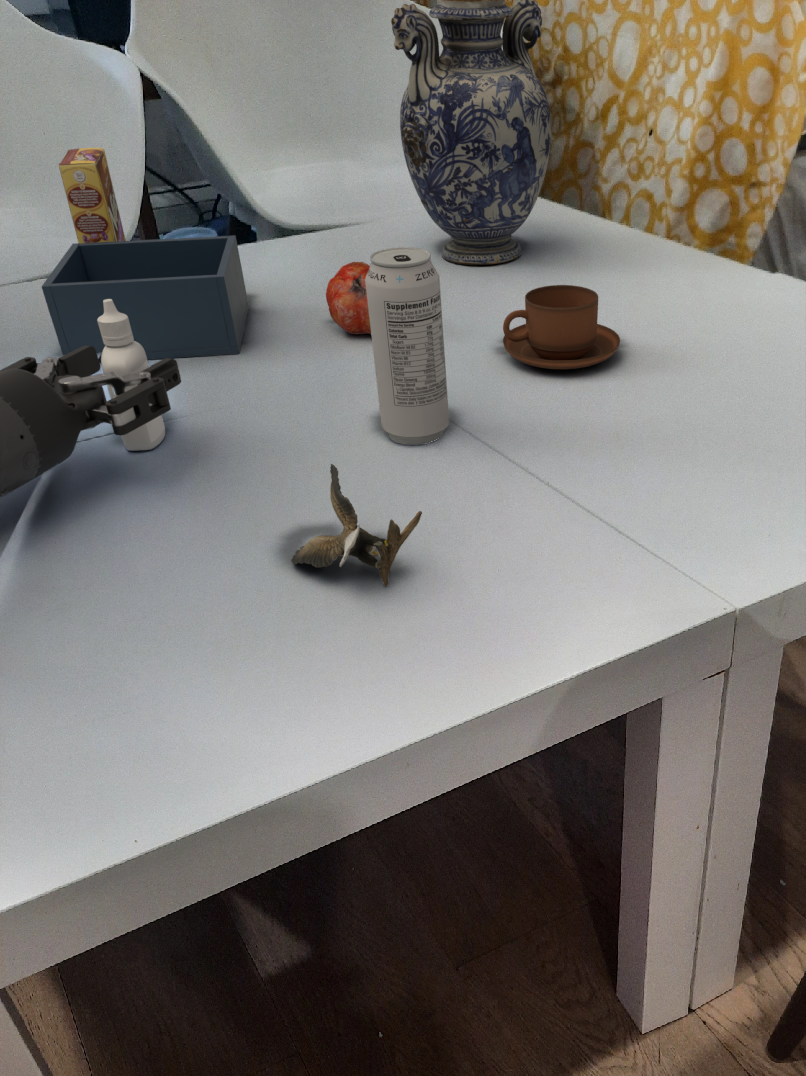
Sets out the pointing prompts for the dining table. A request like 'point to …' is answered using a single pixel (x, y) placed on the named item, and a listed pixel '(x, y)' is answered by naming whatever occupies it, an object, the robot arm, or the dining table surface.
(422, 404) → the energy drink can
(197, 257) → the bin
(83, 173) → the candy box
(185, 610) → the dining table surface
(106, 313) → the eye dropper bottle
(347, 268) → the pomegranate
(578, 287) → the cup and saucer
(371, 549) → the eagle figurine
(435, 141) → the decorative vase
